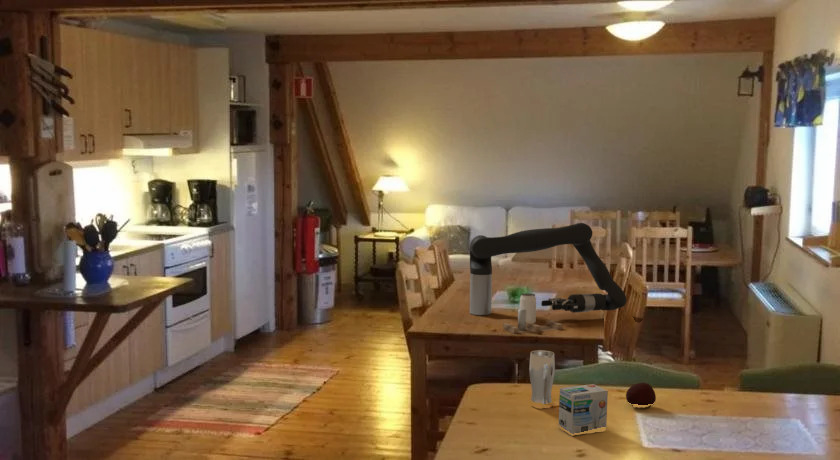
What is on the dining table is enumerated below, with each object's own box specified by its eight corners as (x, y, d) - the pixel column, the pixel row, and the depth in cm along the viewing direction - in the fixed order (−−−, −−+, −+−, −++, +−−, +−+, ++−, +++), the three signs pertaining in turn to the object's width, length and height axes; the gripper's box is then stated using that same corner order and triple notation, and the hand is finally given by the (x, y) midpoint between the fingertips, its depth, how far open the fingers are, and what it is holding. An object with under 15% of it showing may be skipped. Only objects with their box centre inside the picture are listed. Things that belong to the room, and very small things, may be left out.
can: (535, 325, 336) (535, 296, 334) (518, 325, 337) (519, 295, 336) (536, 322, 342) (536, 293, 341) (520, 321, 343) (520, 292, 342)
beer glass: (538, 411, 229) (539, 357, 228) (523, 404, 235) (524, 351, 234) (558, 407, 233) (560, 354, 231) (544, 400, 239) (545, 348, 237)
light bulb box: (572, 437, 209) (573, 395, 208) (557, 428, 216) (558, 387, 214) (607, 431, 214) (609, 390, 212) (592, 423, 220) (593, 383, 219)
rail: (502, 331, 326) (503, 323, 326) (550, 327, 334) (550, 319, 333) (513, 336, 318) (513, 328, 317) (562, 331, 325) (562, 324, 325)
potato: (619, 405, 235) (620, 381, 234) (644, 402, 238) (645, 378, 237) (636, 413, 228) (637, 388, 227) (661, 409, 231) (662, 385, 231)
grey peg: (516, 329, 325) (516, 309, 324) (523, 328, 326) (523, 308, 325) (520, 331, 322) (520, 310, 321) (527, 330, 323) (527, 309, 322)
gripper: (572, 291, 354) (538, 293, 348) (591, 297, 341) (556, 299, 335) (571, 308, 355) (538, 311, 349) (590, 315, 342) (555, 317, 336)
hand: (547, 305), depth 342 cm, fingers open, 8 cm apart
